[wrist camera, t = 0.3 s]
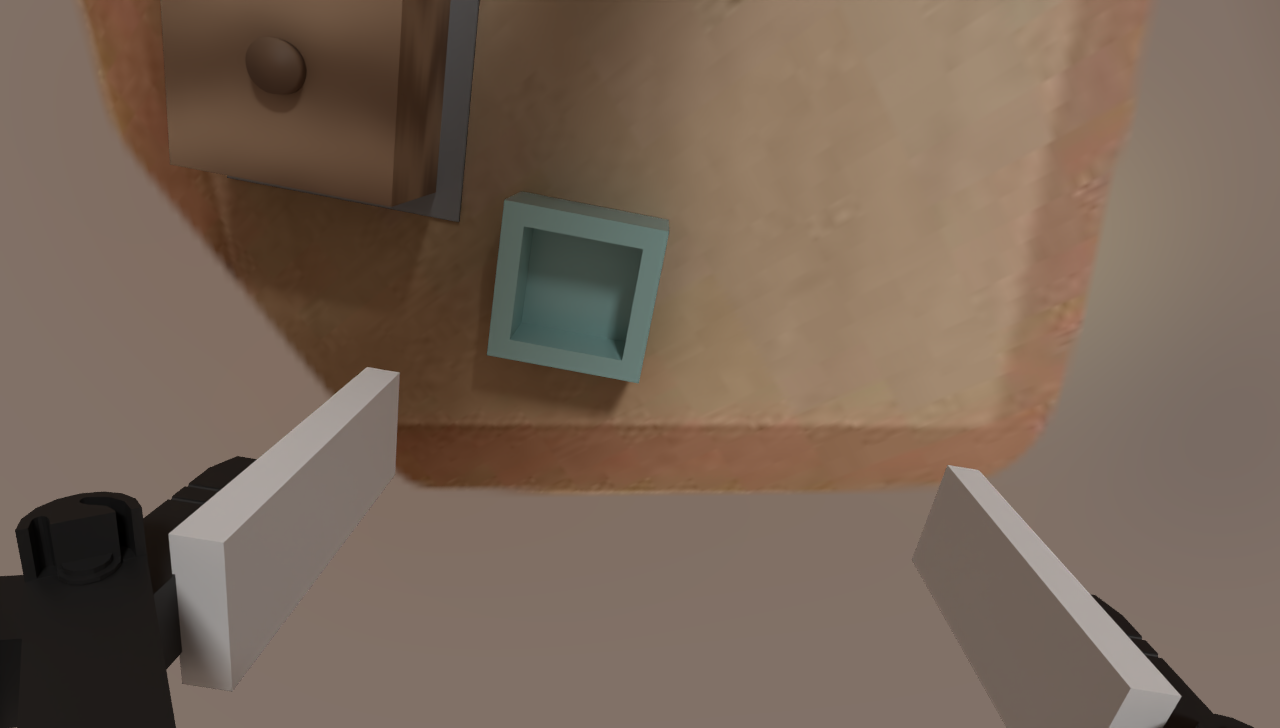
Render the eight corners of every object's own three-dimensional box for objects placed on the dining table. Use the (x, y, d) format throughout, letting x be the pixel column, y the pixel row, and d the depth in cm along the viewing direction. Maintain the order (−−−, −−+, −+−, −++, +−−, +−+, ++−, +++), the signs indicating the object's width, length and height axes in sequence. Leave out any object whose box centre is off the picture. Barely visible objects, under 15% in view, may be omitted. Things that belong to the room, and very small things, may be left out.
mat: (221, -91, 35) (219, -93, 35) (482, -38, 36) (481, -39, 36) (229, 177, 40) (227, 177, 40) (459, 221, 41) (458, 221, 40)
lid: (248, -54, 36) (141, -99, 28) (451, -13, 36) (397, -46, 29) (251, 156, 40) (158, 165, 32) (435, 192, 40) (385, 209, 33)
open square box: (521, 191, 40) (504, 199, 36) (668, 219, 40) (669, 231, 36) (504, 331, 43) (486, 355, 39) (641, 357, 43) (638, 383, 39)
